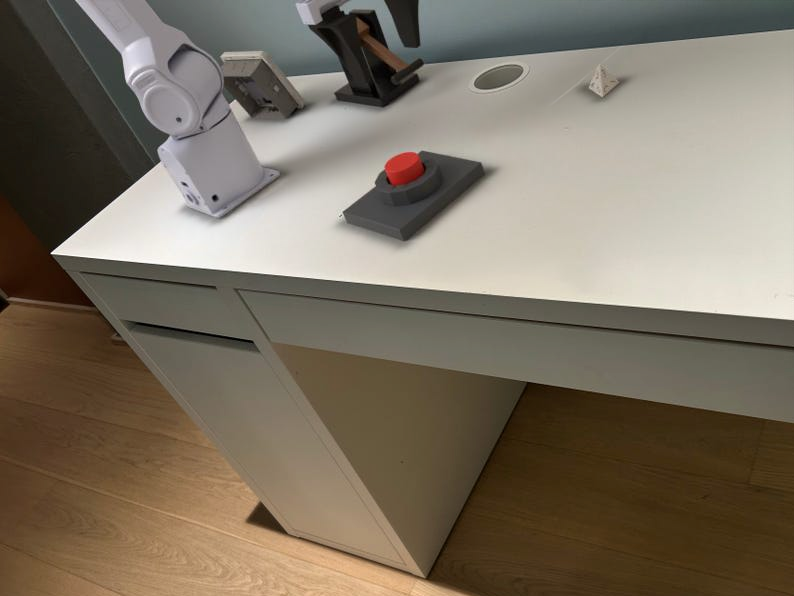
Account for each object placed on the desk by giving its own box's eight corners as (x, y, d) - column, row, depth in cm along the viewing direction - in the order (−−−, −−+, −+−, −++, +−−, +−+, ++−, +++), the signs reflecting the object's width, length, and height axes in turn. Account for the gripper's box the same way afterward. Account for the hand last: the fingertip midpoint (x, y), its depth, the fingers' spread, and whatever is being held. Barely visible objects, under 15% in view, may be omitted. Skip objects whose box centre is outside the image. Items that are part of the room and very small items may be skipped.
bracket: (420, 81, 96) (394, 6, 89) (383, 108, 93) (354, 31, 86) (373, 76, 102) (346, 5, 96) (337, 100, 99) (306, 29, 93)
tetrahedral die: (601, 89, 82) (589, 64, 81) (620, 82, 80) (608, 57, 79) (584, 103, 81) (572, 79, 80) (602, 97, 79) (590, 72, 77)
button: (407, 189, 70) (400, 174, 69) (383, 183, 73) (377, 168, 71) (431, 170, 72) (426, 154, 71) (407, 164, 74) (402, 149, 73)
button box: (404, 241, 69) (393, 215, 67) (347, 223, 74) (335, 198, 72) (485, 174, 74) (477, 147, 72) (425, 161, 79) (416, 136, 77)
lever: (423, 71, 93) (424, 56, 90) (396, 90, 90) (397, 75, 88) (361, 25, 95) (361, 9, 92) (333, 43, 92) (333, 27, 90)
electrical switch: (309, 106, 101) (274, 43, 94) (286, 128, 98) (248, 65, 92) (266, 104, 106) (230, 45, 99) (243, 126, 104) (205, 66, 97)
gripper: (305, -48, 62) (364, 99, 71) (418, -111, 68) (459, 33, 77) (261, -45, 67) (321, 94, 76) (370, -104, 73) (415, 31, 82)
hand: (388, 63), depth 77 cm, fingers open, 7 cm apart
